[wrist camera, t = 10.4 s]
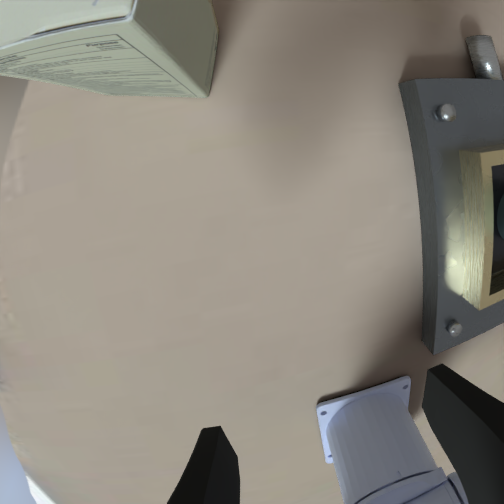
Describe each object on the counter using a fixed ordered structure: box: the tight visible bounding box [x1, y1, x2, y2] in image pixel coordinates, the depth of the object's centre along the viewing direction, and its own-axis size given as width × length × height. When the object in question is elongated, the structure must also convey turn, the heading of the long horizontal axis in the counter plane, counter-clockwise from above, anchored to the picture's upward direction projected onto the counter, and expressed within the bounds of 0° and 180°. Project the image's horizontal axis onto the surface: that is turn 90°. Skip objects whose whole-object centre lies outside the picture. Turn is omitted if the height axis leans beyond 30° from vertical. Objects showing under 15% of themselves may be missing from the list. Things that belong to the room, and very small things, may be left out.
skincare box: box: [0, 0, 219, 98], centre depth 9 cm, size 6×4×12 cm
